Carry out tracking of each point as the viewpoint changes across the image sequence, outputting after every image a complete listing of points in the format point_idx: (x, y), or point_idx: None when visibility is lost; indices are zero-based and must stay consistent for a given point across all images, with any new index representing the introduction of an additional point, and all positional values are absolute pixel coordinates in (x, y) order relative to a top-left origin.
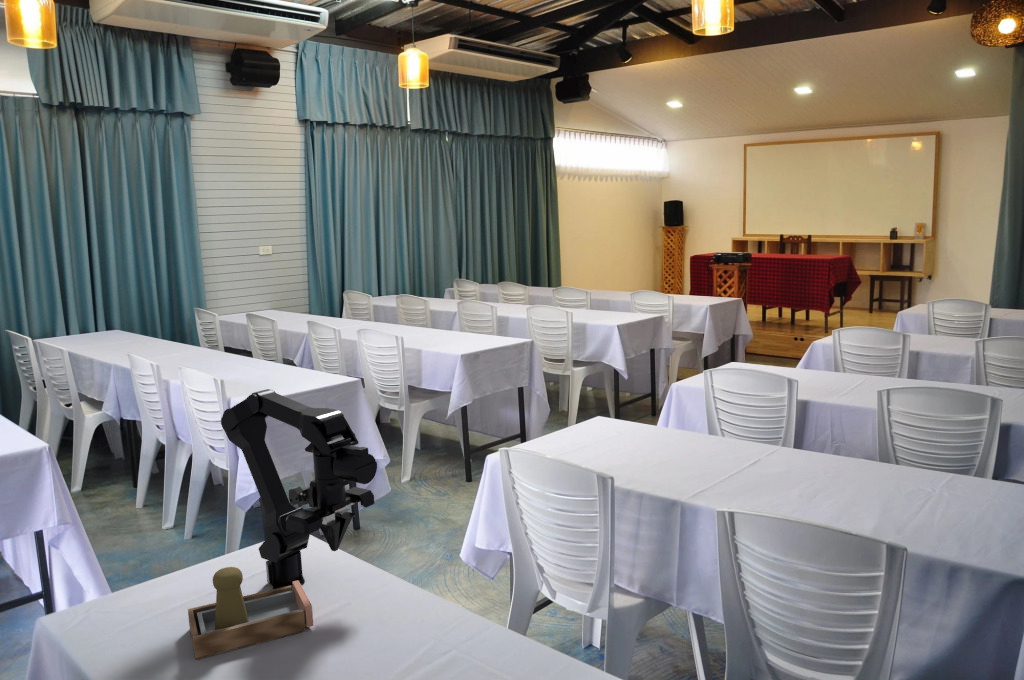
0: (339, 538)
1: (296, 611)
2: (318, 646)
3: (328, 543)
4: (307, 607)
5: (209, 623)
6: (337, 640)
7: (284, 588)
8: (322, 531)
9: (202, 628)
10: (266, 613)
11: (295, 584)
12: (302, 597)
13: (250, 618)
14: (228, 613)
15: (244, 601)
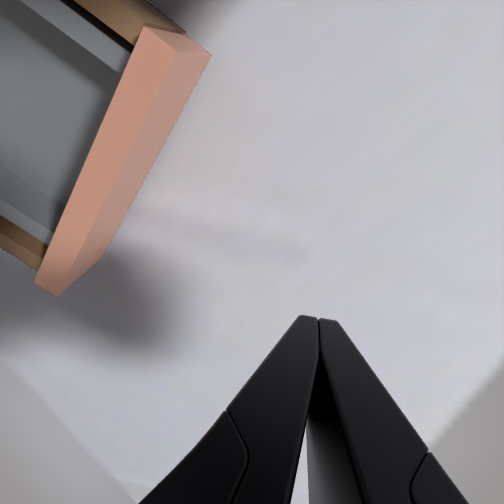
0: (309, 498)
1: (16, 247)
2: (65, 312)
3: (272, 354)
4: (43, 285)
5: None
6: (113, 339)
7: (97, 15)
8: (167, 482)
9: None
10: (9, 38)
11: (129, 81)
12: (70, 219)
13: None
14: None
15: None
